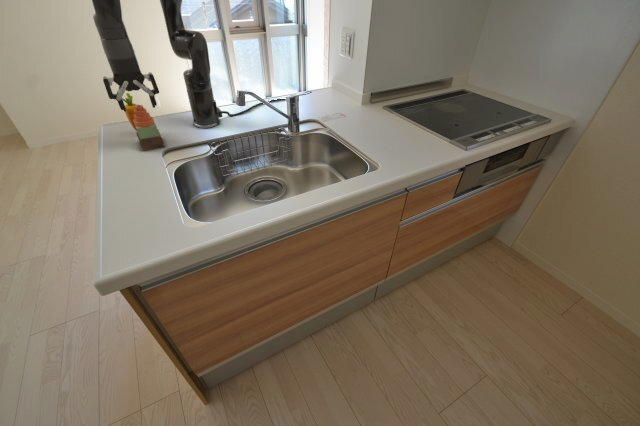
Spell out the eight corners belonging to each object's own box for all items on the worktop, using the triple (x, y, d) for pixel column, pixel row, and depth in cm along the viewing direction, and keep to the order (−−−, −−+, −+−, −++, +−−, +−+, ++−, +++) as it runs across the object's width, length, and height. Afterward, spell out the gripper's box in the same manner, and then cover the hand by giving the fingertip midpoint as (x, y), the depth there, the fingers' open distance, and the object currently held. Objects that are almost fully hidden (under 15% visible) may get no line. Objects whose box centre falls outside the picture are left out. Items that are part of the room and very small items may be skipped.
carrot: (143, 138, 108) (128, 97, 99) (131, 136, 109) (115, 95, 99) (151, 132, 112) (138, 92, 102) (139, 131, 113) (125, 91, 103)
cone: (152, 119, 103) (146, 100, 99) (155, 125, 99) (149, 106, 95) (133, 121, 101) (126, 102, 96) (136, 128, 97) (128, 109, 93)
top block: (156, 129, 106) (153, 118, 103) (159, 136, 102) (156, 125, 99) (138, 132, 103) (134, 121, 101) (140, 139, 99) (136, 128, 97)
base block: (161, 138, 109) (157, 128, 106) (164, 147, 105) (161, 136, 102) (140, 142, 106) (136, 132, 103) (142, 151, 102) (138, 140, 99)
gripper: (92, 60, 81) (116, 116, 92) (149, 55, 87) (165, 109, 98) (91, 53, 86) (114, 108, 96) (145, 49, 92) (161, 101, 102)
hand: (140, 108), depth 97 cm, fingers open, 8 cm apart
